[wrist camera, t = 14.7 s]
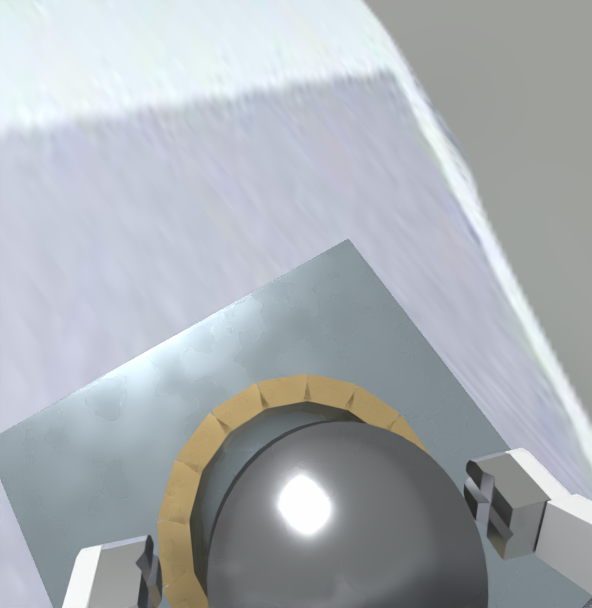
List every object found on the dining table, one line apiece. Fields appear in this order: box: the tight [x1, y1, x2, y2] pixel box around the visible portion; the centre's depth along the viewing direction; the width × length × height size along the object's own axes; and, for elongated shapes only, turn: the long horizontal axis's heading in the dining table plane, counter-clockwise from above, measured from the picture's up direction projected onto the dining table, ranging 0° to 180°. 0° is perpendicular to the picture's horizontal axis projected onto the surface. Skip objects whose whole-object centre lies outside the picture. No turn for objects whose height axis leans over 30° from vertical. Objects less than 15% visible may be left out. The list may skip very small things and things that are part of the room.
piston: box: [206, 420, 488, 608], centre depth 12 cm, size 5×5×10 cm
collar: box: [0, 239, 592, 608], centre depth 16 cm, size 18×18×4 cm
